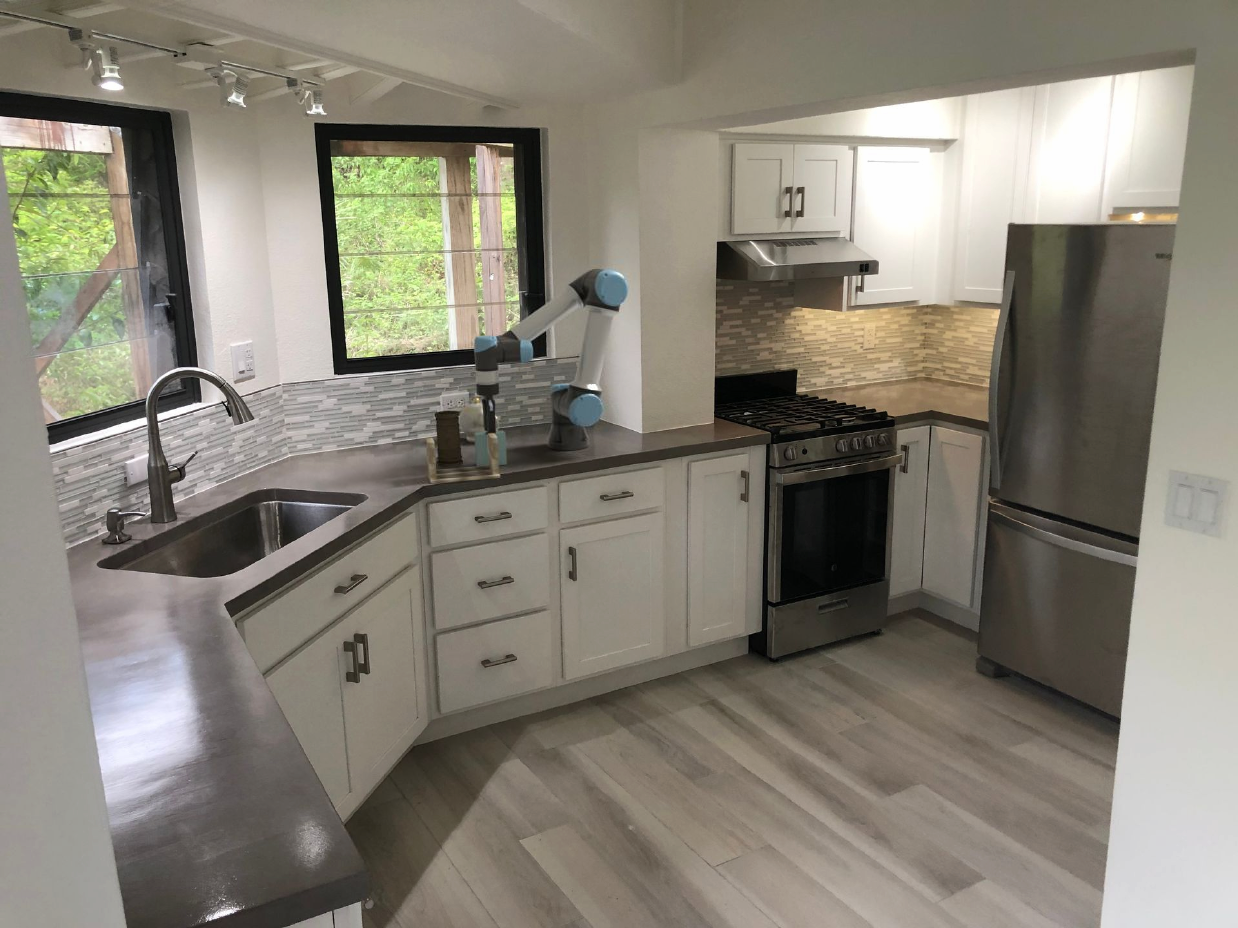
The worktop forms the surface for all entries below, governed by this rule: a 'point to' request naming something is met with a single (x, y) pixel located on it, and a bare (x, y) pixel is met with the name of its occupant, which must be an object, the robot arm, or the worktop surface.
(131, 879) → the worktop surface
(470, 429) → the teapot
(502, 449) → the door panel
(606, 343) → the robot arm
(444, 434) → the container
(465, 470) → the wooden rack
